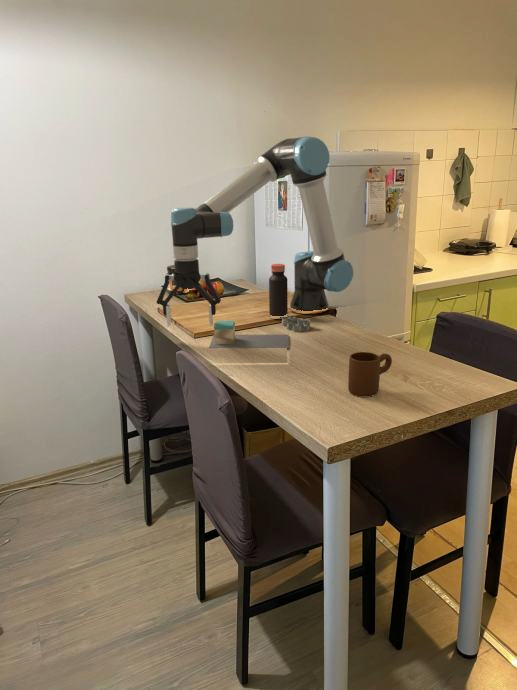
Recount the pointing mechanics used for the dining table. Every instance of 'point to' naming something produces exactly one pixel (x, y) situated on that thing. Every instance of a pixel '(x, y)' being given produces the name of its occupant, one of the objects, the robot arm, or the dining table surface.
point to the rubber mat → (255, 341)
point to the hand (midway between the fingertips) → (190, 324)
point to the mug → (366, 372)
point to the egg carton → (296, 323)
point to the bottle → (278, 291)
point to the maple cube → (224, 332)
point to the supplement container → (173, 283)
